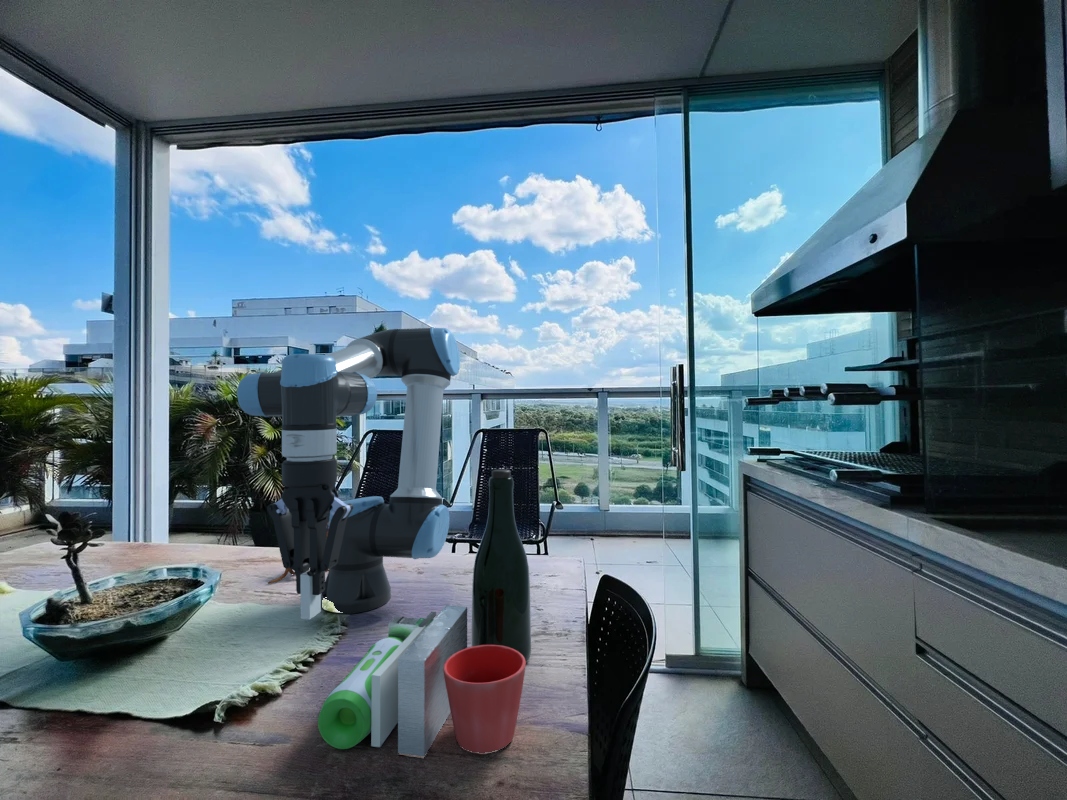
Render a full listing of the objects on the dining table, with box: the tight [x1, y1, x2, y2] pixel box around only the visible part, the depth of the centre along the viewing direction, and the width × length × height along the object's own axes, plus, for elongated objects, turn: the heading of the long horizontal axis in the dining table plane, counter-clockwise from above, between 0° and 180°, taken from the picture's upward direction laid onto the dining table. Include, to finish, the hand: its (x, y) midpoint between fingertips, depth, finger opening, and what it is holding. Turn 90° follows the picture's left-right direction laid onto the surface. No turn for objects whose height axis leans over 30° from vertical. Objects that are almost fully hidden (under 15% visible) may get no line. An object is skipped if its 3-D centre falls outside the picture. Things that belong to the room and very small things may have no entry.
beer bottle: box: [470, 468, 532, 664], centre depth 87 cm, size 10×10×33 cm
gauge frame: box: [387, 605, 468, 756], centre depth 73 cm, size 14×20×12 cm
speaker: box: [317, 636, 403, 750], centre depth 71 cm, size 18×7×8 cm, turn 175°
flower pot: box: [443, 645, 527, 753], centre depth 66 cm, size 11×11×10 cm
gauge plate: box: [370, 611, 437, 748], centre depth 73 cm, size 1×20×9 cm, turn 170°
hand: (310, 615), depth 74 cm, fingers closed
